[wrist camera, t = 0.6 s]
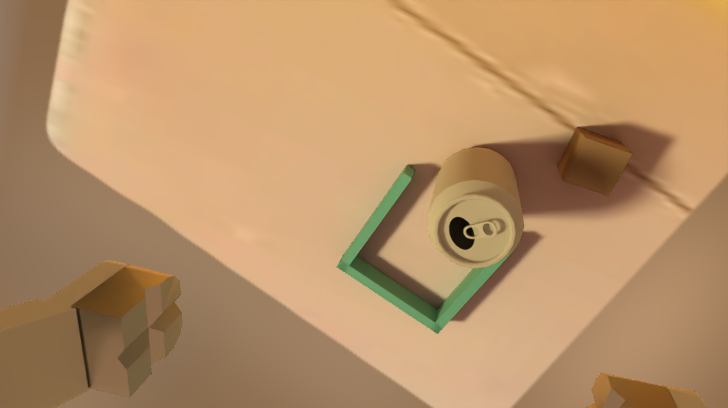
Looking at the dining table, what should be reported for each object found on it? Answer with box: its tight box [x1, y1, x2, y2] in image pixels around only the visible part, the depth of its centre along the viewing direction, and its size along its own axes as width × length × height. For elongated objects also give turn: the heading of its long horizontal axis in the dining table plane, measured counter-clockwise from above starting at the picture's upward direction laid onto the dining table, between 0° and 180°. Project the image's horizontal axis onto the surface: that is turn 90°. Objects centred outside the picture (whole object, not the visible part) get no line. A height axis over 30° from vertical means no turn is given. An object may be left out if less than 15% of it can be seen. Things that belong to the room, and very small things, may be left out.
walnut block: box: [557, 127, 632, 196], centre depth 43 cm, size 4×4×4 cm
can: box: [427, 147, 524, 268], centre depth 43 cm, size 8×8×12 cm
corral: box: [337, 165, 516, 334], centre depth 51 cm, size 13×13×2 cm
